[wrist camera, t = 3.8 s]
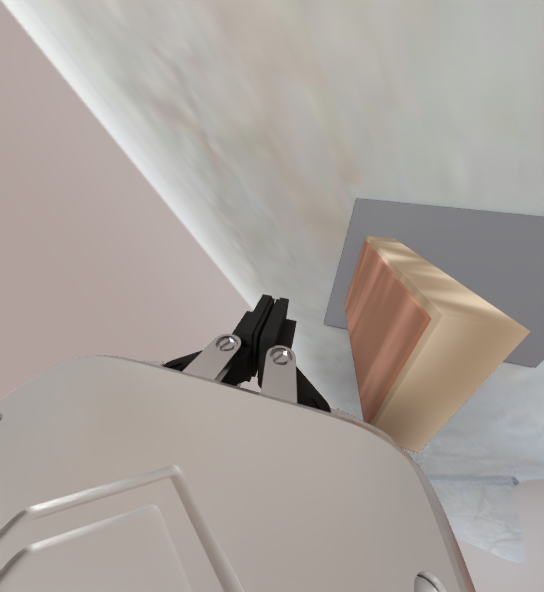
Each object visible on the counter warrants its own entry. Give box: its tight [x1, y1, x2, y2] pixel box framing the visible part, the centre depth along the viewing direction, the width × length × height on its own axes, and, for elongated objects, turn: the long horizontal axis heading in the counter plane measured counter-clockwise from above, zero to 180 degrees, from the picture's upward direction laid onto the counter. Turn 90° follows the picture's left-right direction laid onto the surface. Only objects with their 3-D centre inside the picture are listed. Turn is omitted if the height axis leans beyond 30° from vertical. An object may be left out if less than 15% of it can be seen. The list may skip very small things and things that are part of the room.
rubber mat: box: [324, 198, 544, 368], centre depth 19 cm, size 22×14×1 cm, turn 85°
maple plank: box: [344, 235, 531, 453], centre depth 14 cm, size 3×8×14 cm, turn 175°
